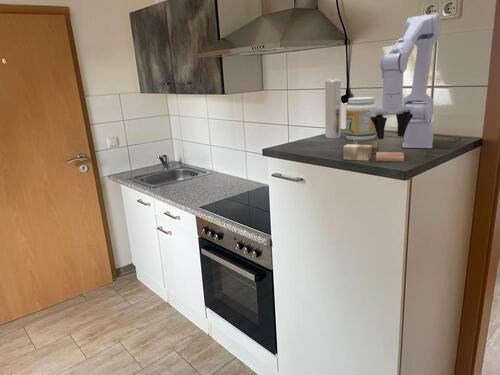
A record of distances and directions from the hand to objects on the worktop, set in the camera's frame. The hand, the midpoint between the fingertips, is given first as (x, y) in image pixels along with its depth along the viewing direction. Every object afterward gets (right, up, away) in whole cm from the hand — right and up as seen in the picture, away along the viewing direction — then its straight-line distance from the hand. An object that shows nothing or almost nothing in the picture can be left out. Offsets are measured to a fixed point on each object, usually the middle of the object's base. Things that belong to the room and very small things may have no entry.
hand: (390, 137), depth 123 cm
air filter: (-8, +6, +47) cm, 48 cm away
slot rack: (-4, -3, +15) cm, 16 cm away
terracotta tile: (0, -6, +2) cm, 7 cm away
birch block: (-6, -5, +1) cm, 8 cm away
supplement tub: (+2, +4, +39) cm, 40 cm away
